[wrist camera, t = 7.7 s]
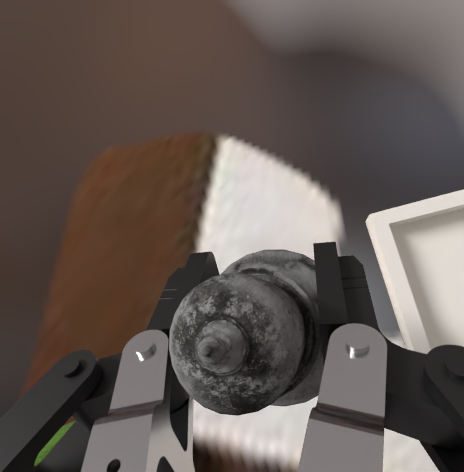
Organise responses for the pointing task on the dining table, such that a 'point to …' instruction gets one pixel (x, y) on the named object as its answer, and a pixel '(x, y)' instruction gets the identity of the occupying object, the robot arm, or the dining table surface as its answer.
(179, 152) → the dining table surface
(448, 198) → the ceramic dish
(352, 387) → the robot arm
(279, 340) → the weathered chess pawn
